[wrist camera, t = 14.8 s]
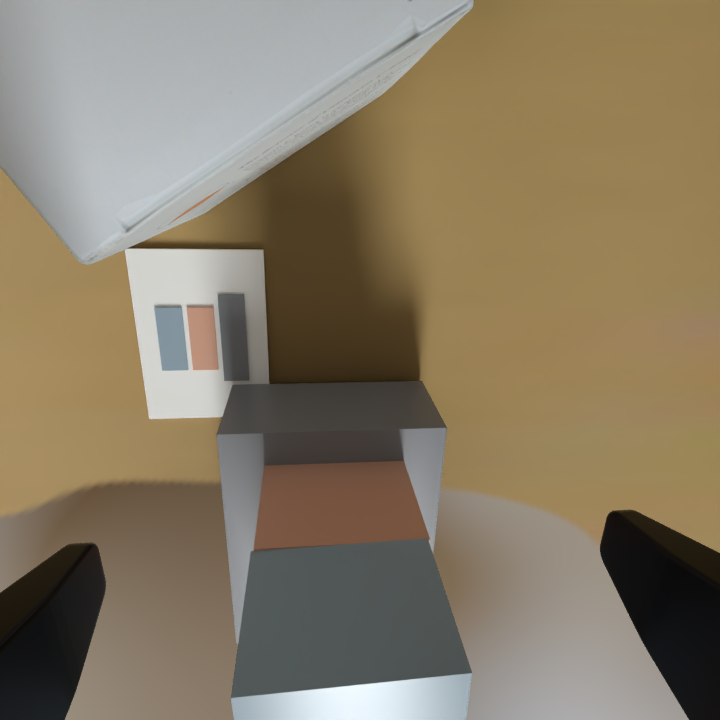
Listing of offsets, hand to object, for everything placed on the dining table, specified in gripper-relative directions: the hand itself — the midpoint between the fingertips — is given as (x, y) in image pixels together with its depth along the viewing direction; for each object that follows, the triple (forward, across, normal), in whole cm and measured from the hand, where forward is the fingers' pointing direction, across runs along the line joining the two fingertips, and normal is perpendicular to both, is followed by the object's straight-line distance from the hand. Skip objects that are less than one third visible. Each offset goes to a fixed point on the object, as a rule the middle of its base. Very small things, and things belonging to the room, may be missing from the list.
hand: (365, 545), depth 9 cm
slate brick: (+4, 0, +7) cm, 8 cm away
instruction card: (+12, +5, 0) cm, 13 cm away
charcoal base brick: (+12, 0, +7) cm, 14 cm away
